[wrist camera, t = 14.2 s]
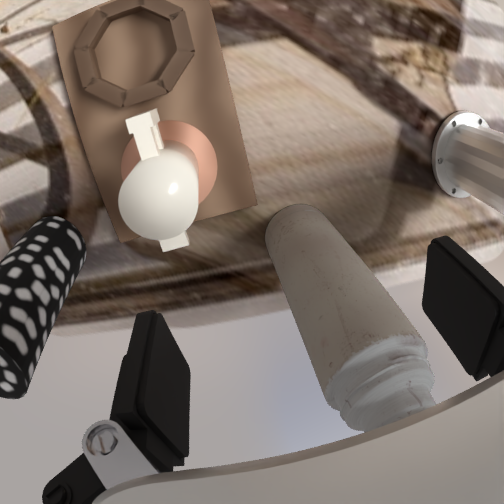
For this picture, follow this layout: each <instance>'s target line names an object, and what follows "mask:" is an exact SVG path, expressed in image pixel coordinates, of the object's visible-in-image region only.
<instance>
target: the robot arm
mask: <svg viewBox="0 0 504 504" xmlns="http://www.w3.org/2000/svg"><path fill="white" fill-rule="evenodd" d="M432 167H433V172H434V176H435V179H436V181H437V183H438V185H439V186H440V187H441V189H442V190H444V191H445V192H446V193H447V194H449V195H451V196H453V197H456V198H465V197H469V196H471V195H472V196H474V197H476V198H477V199H479V200H481V201H483V202H484V203H486V204H487V205H489V206H491V207H492V208H494V209H496V210H497V211H499V212H500V213H502V214H503V215H504V133H501V132H499V131H496V130H493V129H490V128H489V126H488V124H487V122H486V121H485V120H484V119H483V118H482V117H481V116H480V115H478V114H476V113H474V112H470V111H458V112H456V113H453V114H452V115H450V116H449V117H448V118H447V119H446V120H445V121H444V122H443V124H442V125H441V127H440V128H439V130H438V132H437V135H436V137H435V140H434V144H433V150H432ZM422 307H423V310H424V312H425V314H426V315H427V316H428V318H429V319H430V321H431V322H432V323H433V325H434V326H435V327H436V329H437V330H438V332H439V333H440V334H441V336H442V337H443V339H444V340H445V341H446V343H447V344H448V346H449V347H450V348H451V350H452V351H453V353H454V354H455V355H456V357H457V359H458V360H459V361H460V363H461V364H462V366H463V368H464V369H465V371H466V372H467V373H468V374H469V375H472V376H473V377H474V379H475V380H476V381H479V380H480V379H482V378H484V377H486V376H488V374H489V375H490V377H491V378H489V379H487V380H485V381H483V382H481V383H479V384H477V385H476V386H474V387H472V388H470V389H468V390H466V391H464V392H462V393H460V394H458V395H456V396H454V397H452V398H450V399H448V400H446V401H443V402H441V403H439V404H437V405H434V406H432V407H430V408H428V409H425V410H423V411H421V412H418V413H416V414H413V415H411V416H408V417H406V418H403V419H401V420H398V421H396V422H393V423H390V424H388V425H385V426H382V427H379V428H377V429H374V430H371V431H368V432H365V433H362V434H359V435H356V436H353V437H350V438H346V439H343V440H340V441H336V442H333V443H329V444H325V445H321V446H318V447H314V448H310V449H306V450H302V451H298V452H294V453H289V454H284V455H280V456H275V457H270V458H265V459H259V460H254V461H248V462H242V463H235V464H230V465H222V466H216V467H208V468H199V469H189V470H182V471H173V466H184V457H188V455H189V410H190V409H189V408H190V368H189V365H188V363H187V362H186V360H185V358H184V356H183V354H182V352H181V351H180V349H179V347H178V345H177V343H176V341H175V339H174V337H173V336H172V334H171V332H170V329H169V328H168V326H167V324H166V322H165V320H164V318H163V316H162V314H161V313H158V314H157V313H156V312H155V311H154V310H151V311H146V312H142V313H138V314H137V316H136V319H135V323H134V327H133V331H132V335H131V339H130V343H129V347H128V351H127V354H126V355H125V356H124V357H123V360H122V364H121V368H120V372H119V377H118V381H117V386H116V391H115V395H114V400H113V405H112V409H111V414H110V420H102V421H98V422H96V423H94V424H93V425H92V426H90V427H89V428H88V429H87V431H86V432H85V434H84V436H83V439H82V449H83V451H84V453H83V454H82V455H80V456H79V457H78V458H77V459H76V460H75V461H73V462H72V463H71V464H70V465H69V466H67V467H66V468H65V469H64V470H63V471H61V472H60V473H59V474H58V475H56V476H55V477H54V478H53V479H52V480H50V481H49V483H48V484H47V485H46V486H45V488H44V490H43V495H42V500H43V504H504V286H503V285H502V284H500V282H499V281H498V280H496V279H495V278H494V277H493V276H492V275H491V274H490V273H489V272H488V271H487V270H486V269H485V268H484V267H483V266H481V265H480V264H479V263H478V262H477V261H476V260H475V259H474V258H473V257H472V256H470V255H469V254H468V253H467V252H466V251H465V250H464V249H463V248H461V247H460V246H459V245H458V244H457V243H456V242H454V241H453V240H452V239H451V238H450V237H448V236H442V237H439V238H435V239H433V240H432V241H431V244H430V245H429V246H428V250H427V263H426V273H425V283H424V292H423V299H422Z"/></svg>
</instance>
